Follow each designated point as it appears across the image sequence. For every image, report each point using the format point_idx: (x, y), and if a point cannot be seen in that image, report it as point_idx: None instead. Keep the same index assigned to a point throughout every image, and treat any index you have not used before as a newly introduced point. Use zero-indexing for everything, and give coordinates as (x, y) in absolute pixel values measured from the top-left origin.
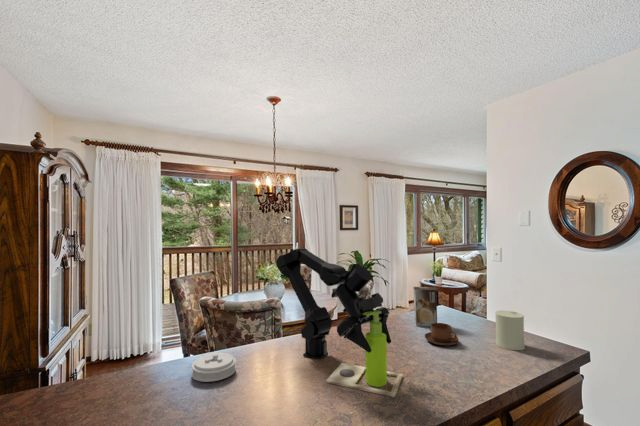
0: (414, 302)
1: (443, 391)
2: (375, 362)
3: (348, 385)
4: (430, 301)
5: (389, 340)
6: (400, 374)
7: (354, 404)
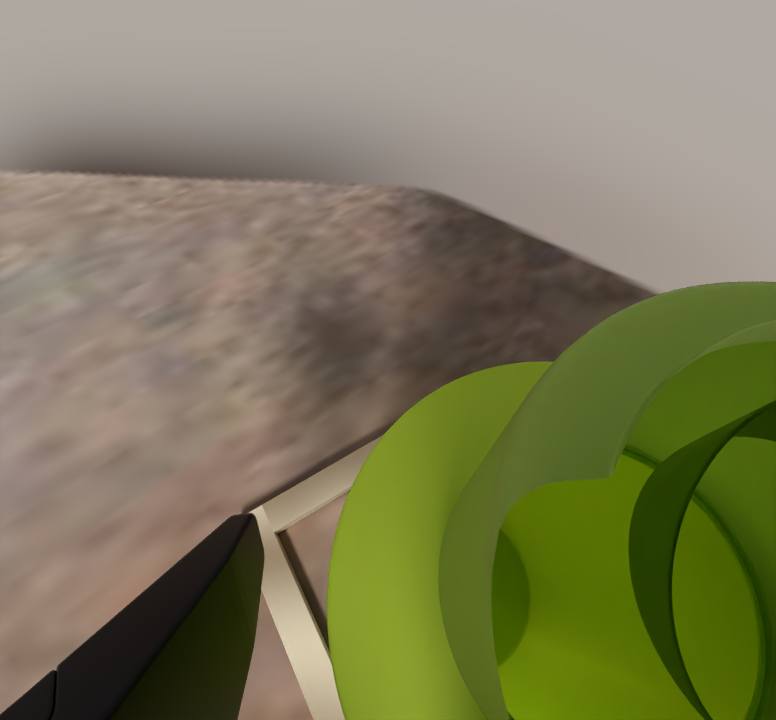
0: None
1: (233, 289)
2: (558, 503)
3: None
4: None
5: (248, 532)
6: None
7: None
